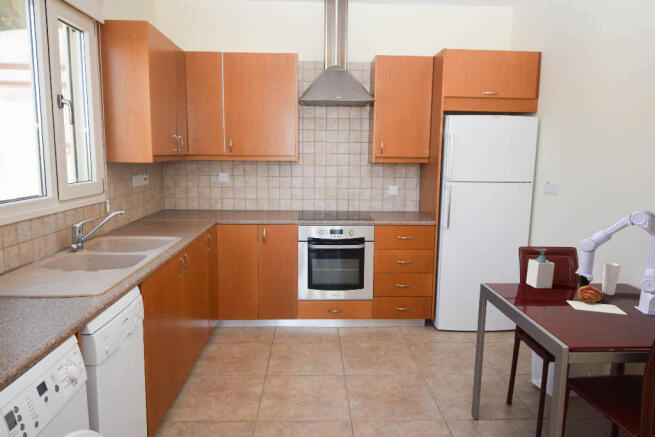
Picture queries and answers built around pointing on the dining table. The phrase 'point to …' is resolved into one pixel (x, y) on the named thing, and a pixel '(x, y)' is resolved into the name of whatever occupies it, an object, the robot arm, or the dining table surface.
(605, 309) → the mat
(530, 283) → the soap bottle
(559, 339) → the dining table surface
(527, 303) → the dining table surface
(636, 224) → the robot arm
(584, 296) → the croissant
